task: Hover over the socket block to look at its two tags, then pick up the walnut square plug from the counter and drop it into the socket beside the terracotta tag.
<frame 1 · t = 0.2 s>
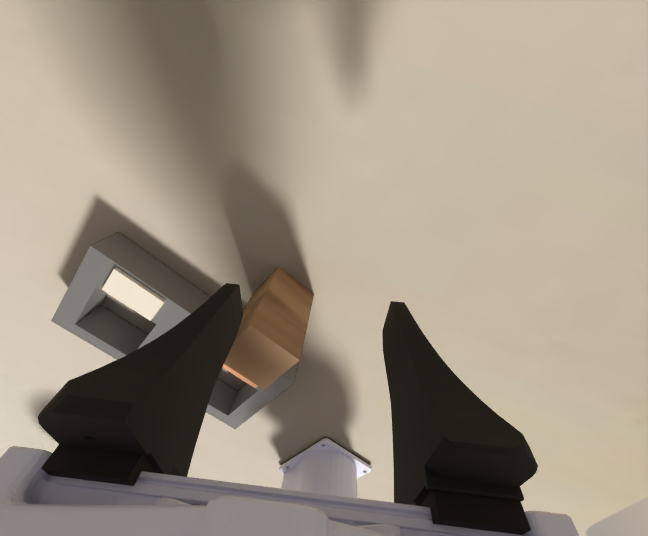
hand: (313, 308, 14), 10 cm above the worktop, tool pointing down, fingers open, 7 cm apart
plug: (282, 294, 26), on the worktop
socket block: (190, 331, 29), on the worktop
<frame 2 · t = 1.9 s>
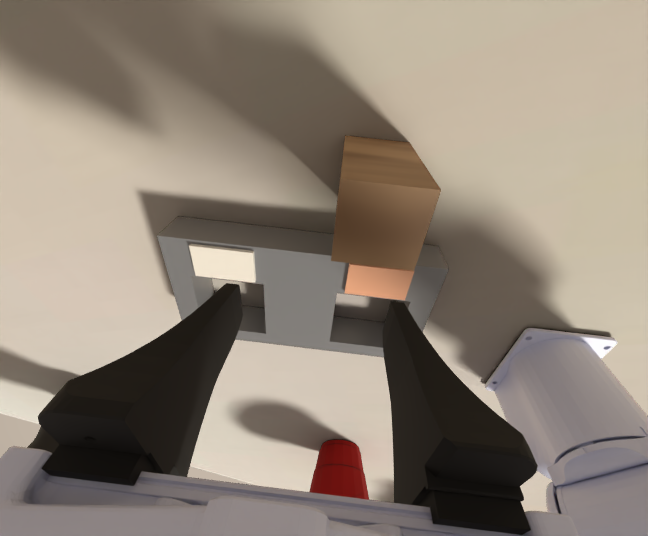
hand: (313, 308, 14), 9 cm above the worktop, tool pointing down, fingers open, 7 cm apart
plastic cup: (341, 446, 44), on the worktop
plug: (371, 171, 19), on the worktop
cola bottle: (104, 397, 40), on the worktop
socket block: (304, 281, 25), on the worktop
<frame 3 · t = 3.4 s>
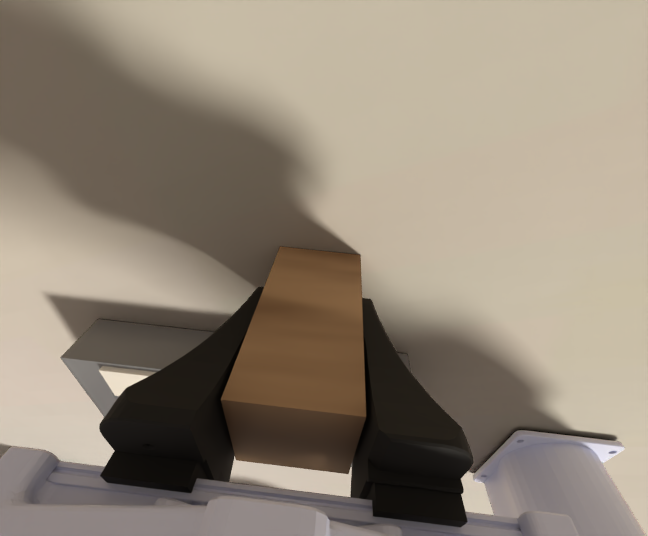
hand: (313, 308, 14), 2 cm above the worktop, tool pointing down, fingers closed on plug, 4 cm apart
plug: (317, 282, 16), on the worktop, touching gripper
socket block: (255, 381, 22), on the worktop
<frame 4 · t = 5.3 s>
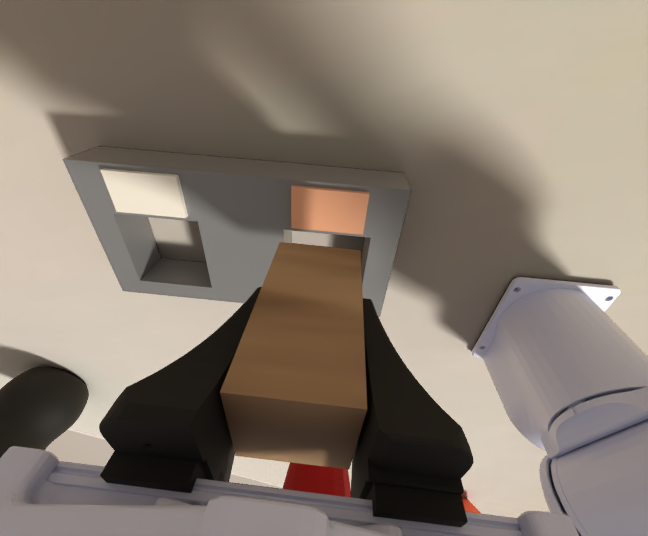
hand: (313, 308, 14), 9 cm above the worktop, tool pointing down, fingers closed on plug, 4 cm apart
plastic cup: (323, 430, 40), on the worktop
french fries container: (449, 501, 52), on the worktop
plug: (317, 278, 15), point 7 cm above the worktop, touching gripper
cola bottle: (63, 379, 37), on the worktop
socket block: (255, 227, 22), on the worktop
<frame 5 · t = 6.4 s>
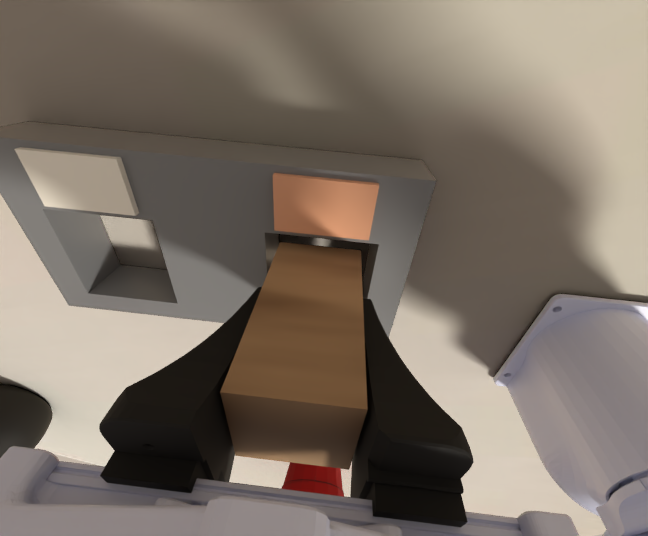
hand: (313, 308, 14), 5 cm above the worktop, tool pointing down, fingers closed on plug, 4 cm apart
plastic cup: (318, 456, 36), on the worktop
plug: (317, 278, 15), point 3 cm above the worktop, touching gripper
cola bottle: (23, 397, 33), on the worktop
socket block: (233, 228, 17), on the worktop
when the fingers open (4 cm above the worktop, at t = 7.1 s): plug drops 2 cm, resting in socket block.
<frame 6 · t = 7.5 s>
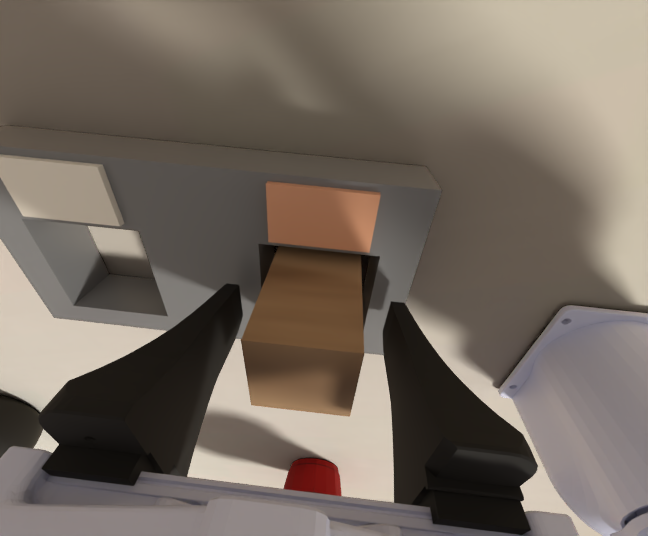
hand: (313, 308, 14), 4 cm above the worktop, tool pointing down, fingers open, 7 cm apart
plastic cup: (316, 466, 35), on the worktop
plug: (321, 258, 17), resting in socket block
cola bottle: (14, 407, 32), on the worktop
socket block: (226, 237, 17), on the worktop
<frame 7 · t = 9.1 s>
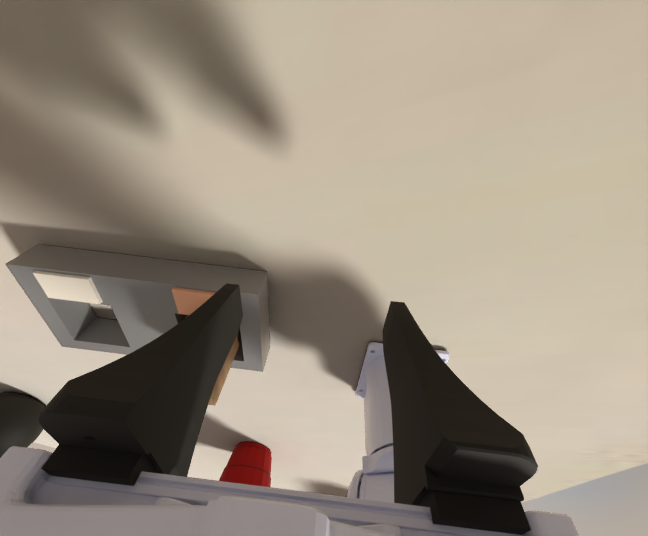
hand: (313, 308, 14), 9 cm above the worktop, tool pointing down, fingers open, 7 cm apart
plastic cup: (255, 448, 46), on the worktop
plug: (223, 313, 28), resting in socket block
cola bottle: (27, 401, 43), on the worktop
socket block: (165, 300, 28), on the worktop
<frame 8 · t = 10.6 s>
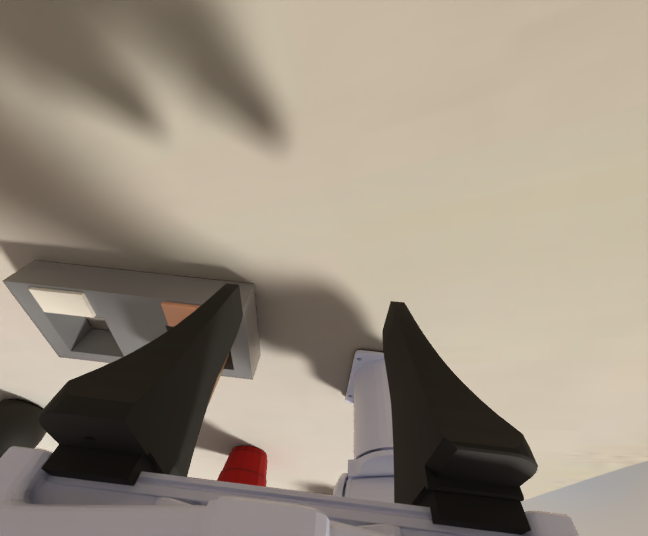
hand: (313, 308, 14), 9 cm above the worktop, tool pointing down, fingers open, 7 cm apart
plastic cup: (251, 452, 47), on the worktop
cola bottle: (28, 408, 44), on the worktop
socket block: (158, 312, 29), on the worktop
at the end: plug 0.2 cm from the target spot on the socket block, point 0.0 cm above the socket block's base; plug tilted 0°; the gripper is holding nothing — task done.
